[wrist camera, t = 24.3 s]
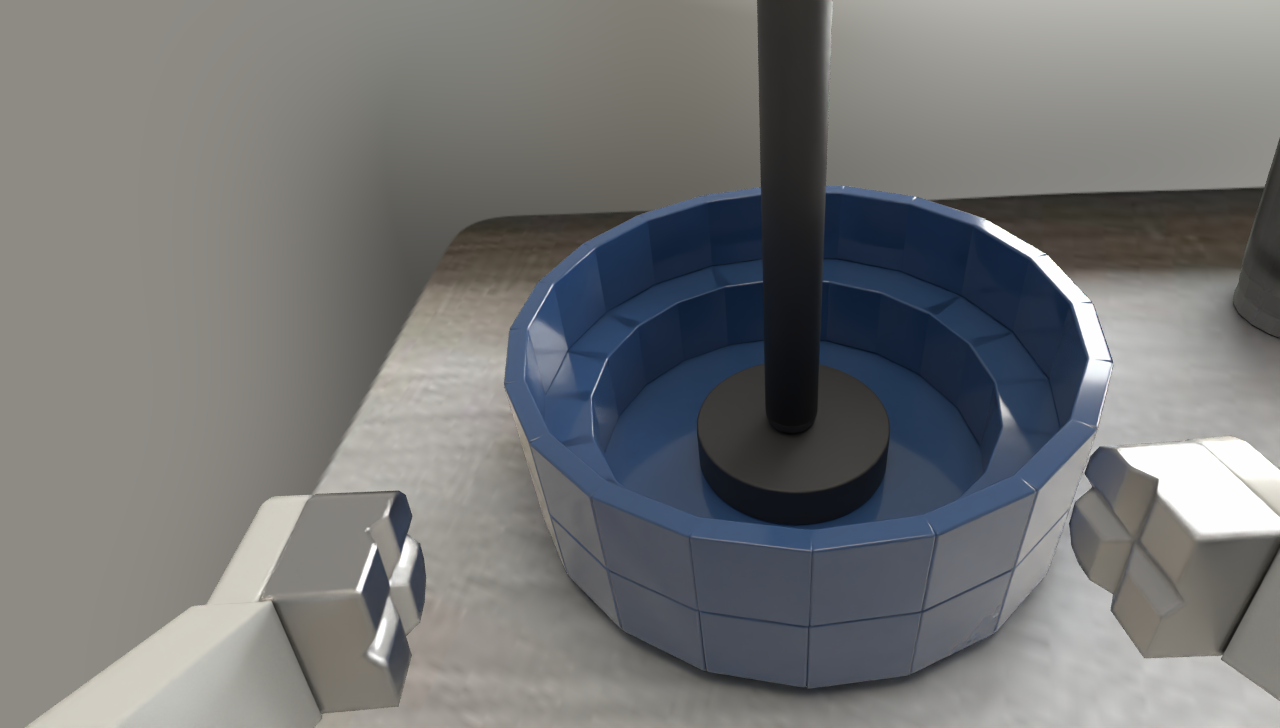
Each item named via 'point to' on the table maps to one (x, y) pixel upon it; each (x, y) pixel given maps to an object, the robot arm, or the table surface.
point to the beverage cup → (1263, 260)
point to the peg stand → (793, 312)
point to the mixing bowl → (849, 341)
